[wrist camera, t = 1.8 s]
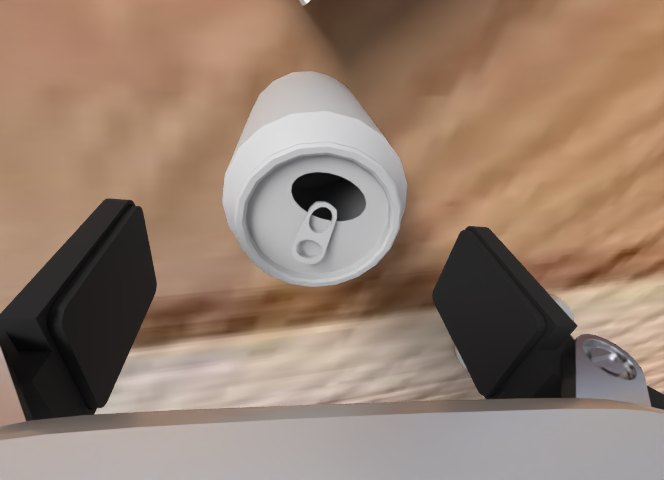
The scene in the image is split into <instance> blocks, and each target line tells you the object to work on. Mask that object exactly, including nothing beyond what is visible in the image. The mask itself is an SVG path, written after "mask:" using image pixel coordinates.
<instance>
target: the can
mask: <svg viewBox="0 0 664 480" xmlns="http://www.w3.org/2000/svg"><path fill="white" fill-rule="evenodd" d="M406 195H407V182H406V179H405V175H404V171H403V167H402V164H401V160H400V158H399V157H398V156H397V154H396V153H395V151H394V150H393V149H392V147H391V146H390V144H389V143H388V142H387V140H386V139H385V137H384V136H383V135H382V133H381V132H380V131H379V129H378V128H377V127H376V125H375V124H374V122H373V121H372V120H371V118H370V117H369V116H368V114H367V113H366V112H365V110H364V109H363V108H362V106H361V105H360V104H359V102H358V101H357V99H356V98H355V97H354V95H353V94H352V93H351V91H350V90H349V89H348V88H347V87H346V86H344V85H343V84H342V83H340V82H339V81H337V80H336V79H335V78H333V77H331V76H328V75H324V74H321V73H317V72H314V71H307V72H292V73H290V74H288V75H286V76H283V77H281V78H279V79H277V80H274V81H273V82H272V83H271V84H270V85H269V86H268V87H267V88H266V89H265V90H264V91H263V92H262V93H261V94H260V95H259V97H258V99H257V101H256V103H255V105H254V107H253V109H252V111H251V113H250V116H249V118H248V120H247V123H246V125H245V128H244V130H243V132H242V135H241V137H240V140H239V142H238V145H237V147H236V149H235V152H234V154H233V157H232V159H231V161H230V164H229V166H228V169H227V171H226V173H225V180H224V190H223V201H222V202H223V206H224V210H225V213H226V217H227V221H228V224H229V227H230V229H231V230H232V232H233V233H234V235H235V236H236V238H237V239H238V241H239V244H240V246H241V247H242V248H243V250H244V251H245V253H246V254H247V256H248V257H249V259H250V260H251V261H252V263H254V264H255V265H256V266H258V267H259V268H260V269H262V270H263V271H264V272H266V273H267V274H268V275H269V276H272V277H274V278H277V279H279V280H282V281H284V282H287V283H289V284H294V285H301V286H309V287H319V286H329V285H337V284H340V283H342V282H345V281H348V280H351V279H354V278H357V277H359V276H360V275H362V274H363V273H365V272H366V271H368V270H369V269H371V268H372V267H374V266H375V265H377V264H378V262H379V261H380V260H381V259H382V258H383V257H384V256H385V254H386V253H387V252H388V251H389V250H390V249H391V247H392V245H393V243H394V240H395V238H396V236H397V234H398V232H399V229H400V222H401V219H402V216H403V214H404V212H405V206H406Z"/></svg>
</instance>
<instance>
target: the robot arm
mask: <svg viewBox="0 0 664 480" xmlns="http://www.w3.org/2000/svg"><path fill="white" fill-rule="evenodd" d="M156 286H157V283H156V277H155V271H154V266H153V261H152V256H151V251H150V246H149V241H148V235H147V230H146V225H145V220H144V215H143V211H142V208H141V207H140V206H135V204H134V202H133V201H132V200H121V199H105V200H104V201H103V202H102V203H101V204H100V205H99V206H98V207H97V209H96V210H95V211H94V212H93V213H92V214H91V215H90V216H89V217H88V218H87V220H86V221H85V222H84V223H83V224H82V225H81V226H80V227H79V228H78V229H77V231H76V232H75V233H74V234H73V235H72V236H71V237H70V238H69V239H68V240H67V241H66V243H65V244H64V245H63V246H62V247H61V248H60V249H59V250H58V251H57V252H56V253H55V255H54V256H53V257H52V258H51V259H50V260H49V261H48V262H47V263H46V264H45V265H44V267H43V268H42V269H41V270H40V271H39V272H38V273H37V274H36V275H35V276H34V278H33V279H32V280H31V281H30V282H29V283H28V284H27V285H26V286H25V287H24V289H23V290H22V291H21V292H20V293H19V294H18V295H17V296H16V297H15V298H14V300H13V301H12V302H11V303H10V304H9V305H8V306H7V307H6V308H5V309H4V310H3V312H2V313H1V314H0V480H664V394H662V393H660V392H658V391H656V390H654V389H652V388H651V387H649V386H647V385H646V380H645V376H644V373H643V371H642V369H641V367H640V366H639V365H638V363H637V362H636V361H635V360H634V359H633V358H632V357H631V356H630V355H629V354H628V353H627V352H626V351H624V350H623V349H622V348H620V347H619V346H617V345H616V344H614V343H612V342H610V341H609V340H607V339H604V338H602V337H599V336H596V335H591V334H582V335H580V336H578V337H577V338H576V339H574V338H573V336H572V335H571V333H572V332H573V331H574V330H575V328H576V327H577V325H576V324H575V322H574V317H573V313H572V311H571V310H570V308H569V307H568V306H567V305H566V304H565V303H564V302H563V301H562V300H561V299H559V298H557V297H556V296H553V295H549V294H548V293H547V292H546V291H545V289H544V288H543V287H542V286H541V285H540V284H539V283H538V282H537V281H536V280H535V278H534V277H533V276H532V275H531V274H530V273H529V272H528V271H527V270H526V269H525V267H524V266H523V265H522V264H521V263H520V262H519V261H518V260H517V259H516V257H515V256H514V255H513V254H512V253H511V252H510V251H509V250H508V249H507V248H506V246H505V245H504V244H503V243H502V242H501V241H500V240H499V239H498V238H497V237H496V235H495V234H494V233H493V232H492V231H491V230H490V229H489V228H486V227H475V226H469V227H467V228H466V229H465V230H463V231H461V232H460V234H459V236H458V238H457V240H456V242H455V245H454V247H453V249H452V251H451V253H450V256H449V258H448V260H447V262H446V264H445V266H444V269H443V271H442V273H441V275H440V277H439V279H438V282H437V284H436V286H435V288H434V290H433V301H434V304H435V306H436V308H437V310H438V312H439V314H440V316H441V318H442V320H443V322H444V324H445V326H446V328H447V330H448V332H449V334H450V336H451V338H452V340H453V342H454V344H455V346H454V349H455V353H456V356H457V358H458V360H459V362H460V363H461V364H462V366H463V367H464V368H466V369H467V370H468V372H469V374H470V376H471V378H472V380H473V382H474V384H475V386H476V388H477V390H478V391H479V393H480V394H481V395H484V397H485V398H486V399H483V400H447V401H415V402H384V403H355V404H326V405H297V406H272V407H246V408H220V409H195V410H171V411H153V412H135V413H116V414H98V415H94V413H95V411H96V409H97V408H102V407H104V406H105V404H106V403H107V401H108V399H109V397H110V394H111V392H112V390H113V388H114V385H115V383H116V381H117V379H118V376H119V374H120V372H121V370H122V367H123V365H124V363H125V360H126V358H127V356H128V354H129V351H130V349H131V347H132V345H133V342H134V340H135V338H136V336H137V333H138V331H139V329H140V327H141V324H142V322H143V320H144V318H145V315H146V313H147V311H148V309H149V306H150V304H151V302H152V300H153V297H154V295H155V292H156Z"/></svg>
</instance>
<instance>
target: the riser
mask: <svg viewBox="0 0 664 480" xmlns="http://www.w3.org/2000/svg"><path fill="white" fill-rule="evenodd" d="M299 1H300V3H301V4H302V6H304V5H306V4H307V3H308V2H309V1H310V0H299Z"/></svg>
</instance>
